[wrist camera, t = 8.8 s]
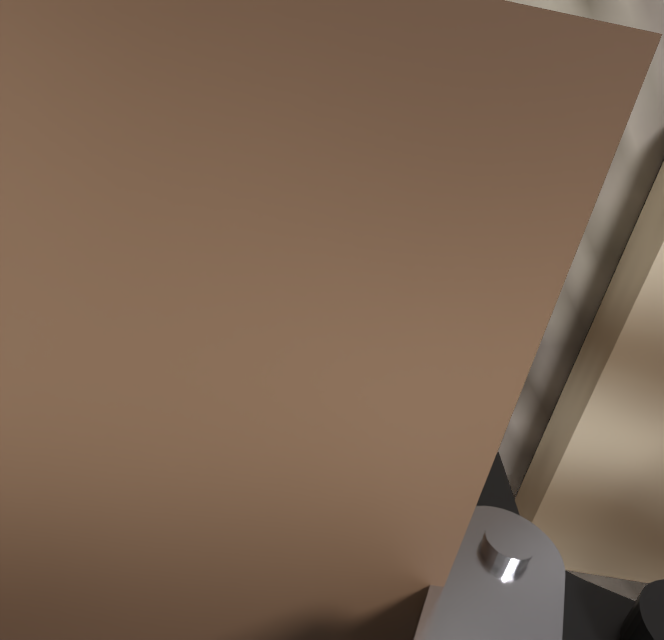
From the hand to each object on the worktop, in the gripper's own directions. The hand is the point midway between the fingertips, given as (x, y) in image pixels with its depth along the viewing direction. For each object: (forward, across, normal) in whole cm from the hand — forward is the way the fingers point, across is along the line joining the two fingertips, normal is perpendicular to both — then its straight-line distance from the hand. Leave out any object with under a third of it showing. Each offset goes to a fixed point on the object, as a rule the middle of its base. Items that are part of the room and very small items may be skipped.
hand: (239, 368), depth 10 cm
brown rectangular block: (0, 0, 0) cm, 0 cm away
